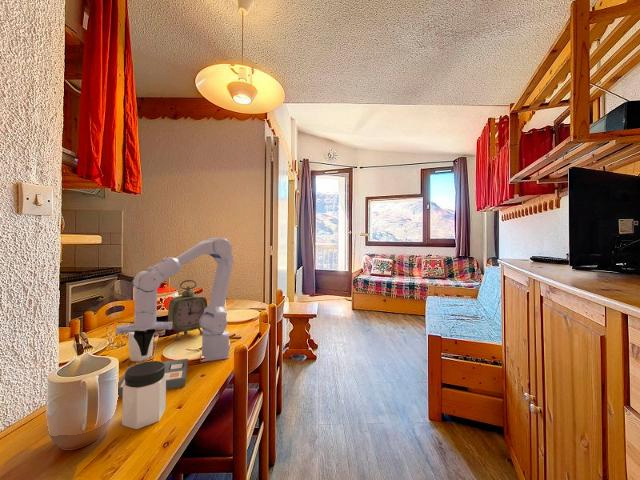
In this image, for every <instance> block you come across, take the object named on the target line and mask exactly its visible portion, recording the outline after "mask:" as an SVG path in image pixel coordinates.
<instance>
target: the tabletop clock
mask: <svg viewBox="0 0 640 480" xmlns="http://www.w3.org/2000/svg"><path fill="white" fill-rule="evenodd" d="M186 282H192V283H194V286H192V287H190V286H189V285H187V286H186V287H182V285H183V284H184V283H186ZM196 287H197V282H196V281H195V280H193V279H185V280H183V281H182V282H181V283H180V284H179V288H181V290H184V291H183V292H182V293H181V295H178V296H175V297H172V298H171V299H170V300H169V305H168V311H167V319H168V320H167V322H172V329H171V330H174V331H175V332H176V334H175V336H174V337H173V340H174V341H177V340H179V333H182V332H183V335H188V332H190V331H195V330H197V329H198V331H199V335H202V332H203V331H202V328H201V326H200V324H199V320H200V318H201V316H202V315H203V313H204V309H205V308H206V307H207V306H208V301H207V299H206V297H203V296H202V295H199V294H195V292H194V290H193V289H195V288H196Z"/></svg>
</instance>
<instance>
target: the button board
mask: <svg viewBox="0 0 640 480" xmlns="http://www.w3.org/2000/svg"><path fill="white" fill-rule="evenodd" d="M188 360H189V359H188V358H181V359H175V360H166V361H162V362H163V363H164V364H165V373H166V390H172V389H177V388H182V387H185V386H186V381H187V380H186V379H187V374H188V373H187V372H188V367H189V366H188V365H189V363H188ZM182 363H183V365H182V368H179V369H173V370H170V369H171V365H175V364H182ZM132 366H133V365H130V366H128V367H127V368H126V370H125V372H126V371H127V369H129V368H130V367H132ZM125 372H124V374H123V375H122V377H121V378H120V380H119V382H118V383H119V386H118V395H119V398H123V385H124V384H125Z"/></svg>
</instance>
